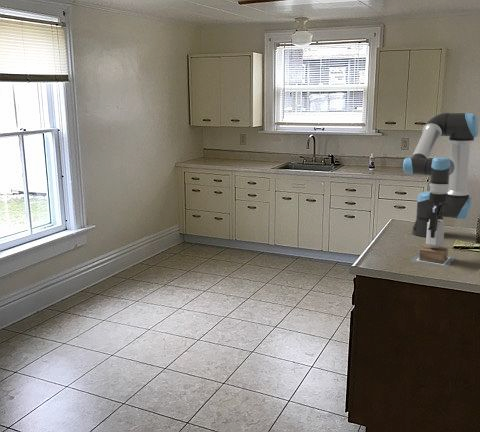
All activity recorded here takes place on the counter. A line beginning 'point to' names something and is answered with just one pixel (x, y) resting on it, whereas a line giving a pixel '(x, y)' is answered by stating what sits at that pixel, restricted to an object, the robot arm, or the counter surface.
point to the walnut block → (433, 254)
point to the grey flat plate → (445, 263)
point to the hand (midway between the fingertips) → (434, 242)
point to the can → (439, 236)
